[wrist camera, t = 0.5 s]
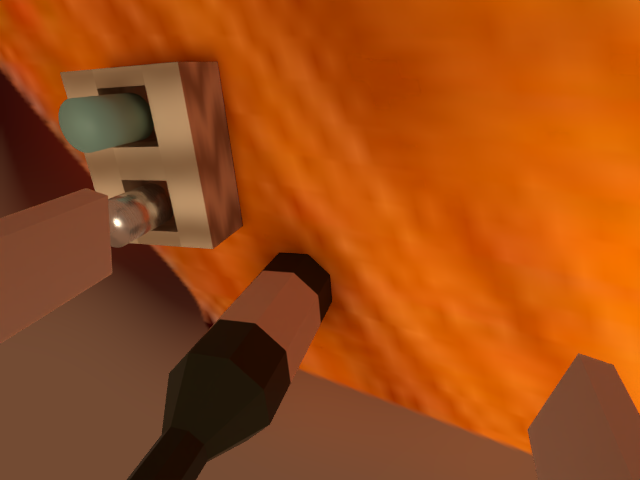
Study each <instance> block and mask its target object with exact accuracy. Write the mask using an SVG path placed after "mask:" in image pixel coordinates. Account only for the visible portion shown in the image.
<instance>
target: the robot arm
mask: <svg viewBox="0 0 640 480" xmlns="http://www.w3.org/2000/svg"><path fill="white" fill-rule="evenodd" d="M111 274H112V261H111V242H110V225H109V207H108V195H105V194H102V193H99V192H96V191H93V190H89V189H87V188H86V189H83V190H80V191H77V192H74V193H71V194H68V195H66V196H62V197H60V198H57V199H54V200H51V201H48V202H45V203H42V204H40V205H37V206H34V207H31V208H28V209H26V210H22V211H20V212H17V213H14V214H11V215H8V216H5V217H2V218H0V343H2V342H3V341H5V340H7V339H8V338H10V337H12V336H13V335H15V334H16V333H18V332H19V331H21V330H23V329H24V328H26V327H28V326H29V325H31V324H32V323H34V322H35V321H37V320H39V319H40V318H42V317H43V316H45V315H47V314H48V313H50V312H51V311H53V310H55V309H56V308H58V307H59V306H61V305H62V304H64V303H66V302H67V301H69V300H71V299H72V298H74V297H75V296H77V295H79V294H80V293H82V292H83V291H85V290H87V289H88V288H90V287H91V286H93V285H94V284H96V283H98V282H99V281H101V280H103V279H104V278H106V277H107V276H109V275H111ZM528 434H529V439H530V444H531V448H532V453H533V458H534V463H535V468H536V473H537V478H538V480H640V415H639V413H638V411H637V409H636V407H635V405H634V403H633V401H632V399H631V398H630V396H629V394H628V392H627V390H626V388H625V386H624V384H623V382H622V380H621V379H620V377H619V375H618V373H617V371H616V369H615V367H614V365H612V364H609V363H606V362H603V361H600V360H597V359H594V358H591V357H588V356H585V355H582V354H579V353H578V355H577V356H576V358H575V359H574V361H573V362H572V364H571V365H570V367H569V368H568V370H567V371H566V373H565V374H564V376H563V377H562V379H561V380H560V382H559V383H558V385H557V386H556V388H555V389H554V391H553V392H552V394H551V395H550V397H549V398H548V400H547V401H546V403H545V404H544V406H543V407H542V409H541V410H540V412H539V413H538V415H537V416H536V418H535V419H534V421H533V422H532V424H531V425H530V427H529V428H528Z"/></svg>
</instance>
